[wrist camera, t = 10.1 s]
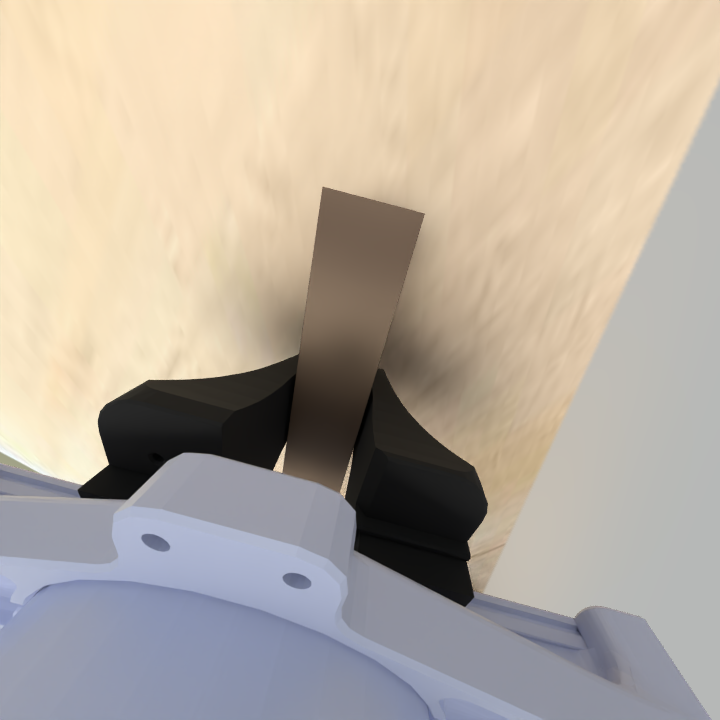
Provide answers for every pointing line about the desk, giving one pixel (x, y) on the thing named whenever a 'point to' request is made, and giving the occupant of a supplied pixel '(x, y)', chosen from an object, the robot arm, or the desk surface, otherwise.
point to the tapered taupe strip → (345, 328)
